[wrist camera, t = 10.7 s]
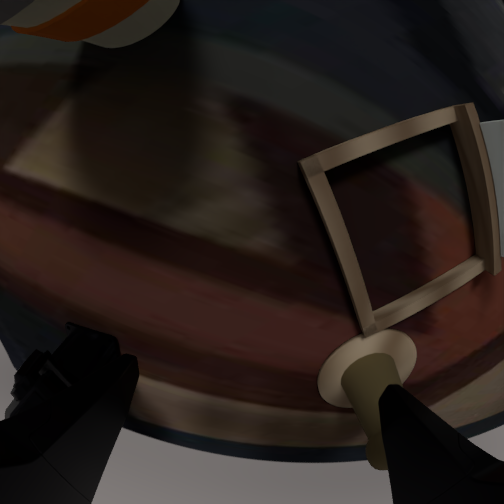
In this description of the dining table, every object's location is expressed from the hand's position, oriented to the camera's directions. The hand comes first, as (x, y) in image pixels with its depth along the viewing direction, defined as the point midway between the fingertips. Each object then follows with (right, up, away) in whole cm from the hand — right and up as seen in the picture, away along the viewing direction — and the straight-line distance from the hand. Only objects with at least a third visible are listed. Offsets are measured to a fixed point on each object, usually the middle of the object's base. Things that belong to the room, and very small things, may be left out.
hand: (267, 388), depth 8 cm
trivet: (+12, -8, +16) cm, 21 cm away
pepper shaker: (+11, -8, +16) cm, 21 cm away
